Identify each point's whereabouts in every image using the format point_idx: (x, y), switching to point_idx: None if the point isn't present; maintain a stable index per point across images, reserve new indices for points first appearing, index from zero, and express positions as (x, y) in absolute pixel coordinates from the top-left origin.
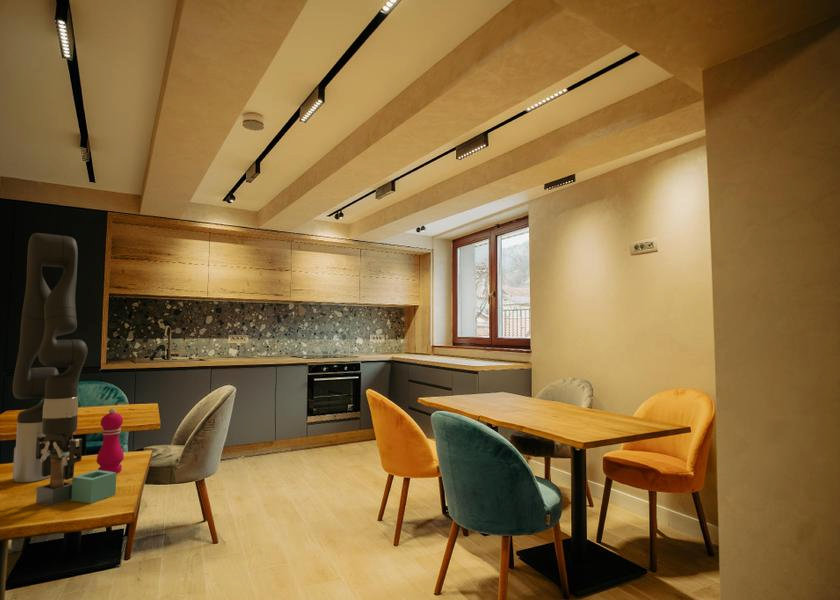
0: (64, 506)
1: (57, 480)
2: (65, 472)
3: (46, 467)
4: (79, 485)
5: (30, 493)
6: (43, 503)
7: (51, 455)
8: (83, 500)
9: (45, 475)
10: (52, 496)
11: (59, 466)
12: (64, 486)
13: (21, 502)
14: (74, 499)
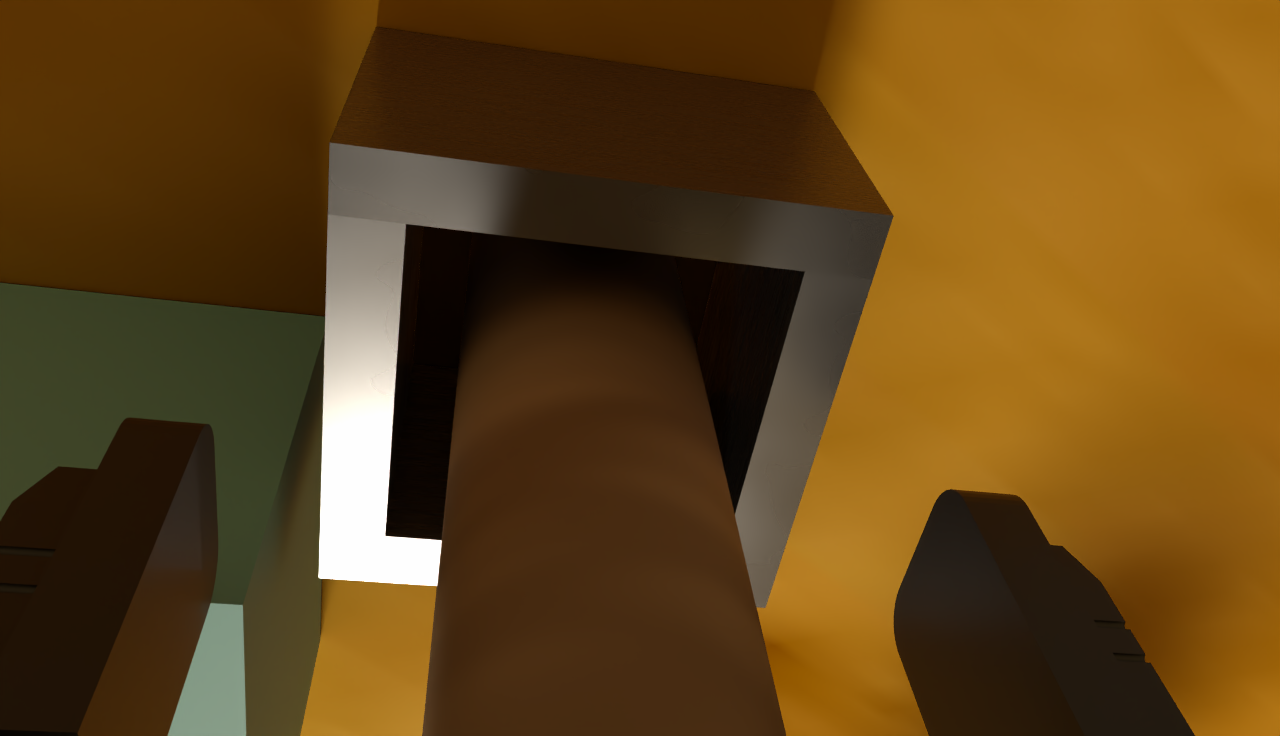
0: (136, 63)
1: (481, 429)
2: (63, 555)
3: (1009, 692)
4: (39, 475)
5: (1259, 417)
6: (625, 71)
7: None
8: (3, 301)
9: (940, 524)
10: (363, 91)
11: (443, 732)
12: (338, 387)
13: (1115, 78)
14: (251, 323)
